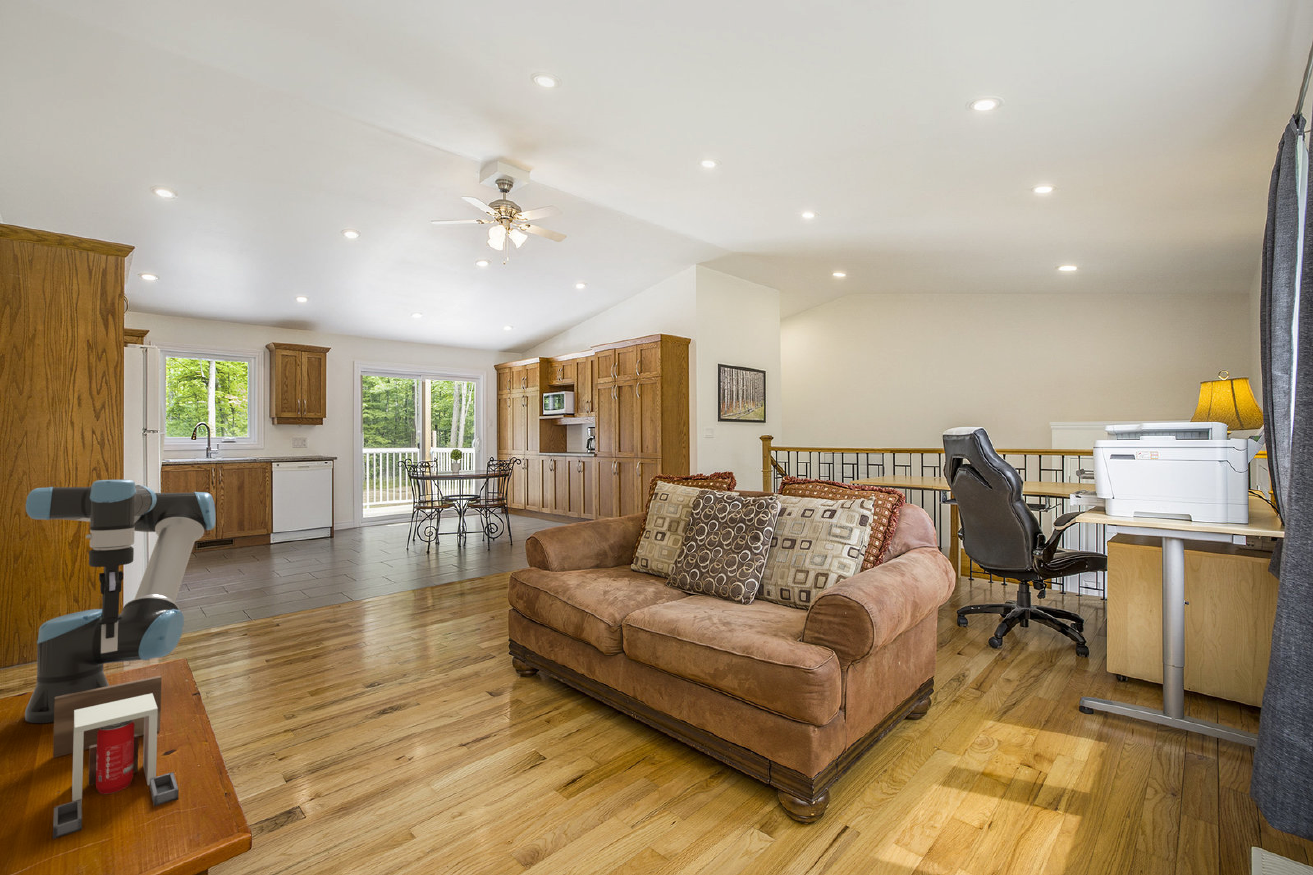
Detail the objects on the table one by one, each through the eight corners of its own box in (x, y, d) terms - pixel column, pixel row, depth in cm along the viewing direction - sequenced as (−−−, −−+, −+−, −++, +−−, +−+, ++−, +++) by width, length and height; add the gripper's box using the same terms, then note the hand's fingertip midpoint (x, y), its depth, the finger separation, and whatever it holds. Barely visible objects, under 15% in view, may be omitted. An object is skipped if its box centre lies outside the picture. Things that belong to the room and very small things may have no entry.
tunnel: (72, 785, 112) (74, 710, 113) (150, 763, 120) (152, 693, 121) (72, 808, 105) (74, 727, 106) (155, 783, 113) (157, 708, 114)
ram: (53, 755, 123) (54, 697, 123) (159, 728, 135) (160, 675, 135) (50, 796, 108) (52, 730, 109) (170, 762, 120) (171, 703, 121)
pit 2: (149, 788, 112) (149, 778, 112) (172, 781, 114) (173, 771, 114) (154, 806, 106) (154, 796, 106) (178, 798, 108) (178, 788, 108)
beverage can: (110, 797, 109) (112, 731, 109) (88, 793, 110) (90, 728, 110) (140, 781, 114) (141, 718, 114) (118, 778, 115) (120, 716, 115)
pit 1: (53, 817, 103) (54, 807, 103) (81, 809, 105) (81, 799, 105) (52, 839, 97) (53, 828, 97) (81, 829, 99) (82, 819, 99)
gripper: (88, 545, 137) (85, 648, 137) (89, 552, 128) (86, 662, 127) (131, 542, 142) (129, 641, 142) (136, 548, 133) (133, 654, 133)
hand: (109, 651), depth 135 cm, fingers closed
